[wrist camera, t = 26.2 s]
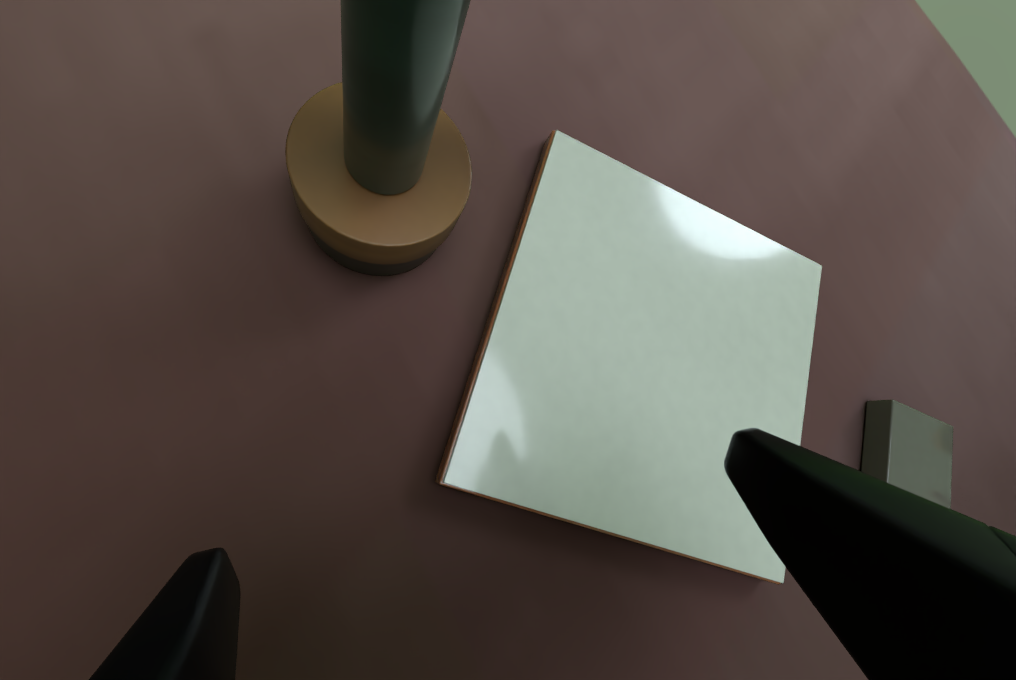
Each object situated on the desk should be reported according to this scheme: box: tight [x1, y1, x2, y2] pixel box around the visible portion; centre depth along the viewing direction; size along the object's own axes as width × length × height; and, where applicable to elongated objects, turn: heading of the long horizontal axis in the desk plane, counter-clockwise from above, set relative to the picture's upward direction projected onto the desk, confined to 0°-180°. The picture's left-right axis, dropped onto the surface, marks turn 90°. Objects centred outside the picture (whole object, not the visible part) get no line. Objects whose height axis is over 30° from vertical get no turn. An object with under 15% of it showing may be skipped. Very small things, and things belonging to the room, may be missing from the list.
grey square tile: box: [861, 400, 953, 509], centre depth 22 cm, size 4×4×1 cm
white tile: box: [435, 130, 822, 585], centre depth 19 cm, size 14×14×1 cm
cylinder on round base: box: [285, 0, 472, 276], centre depth 11 cm, size 5×5×13 cm
